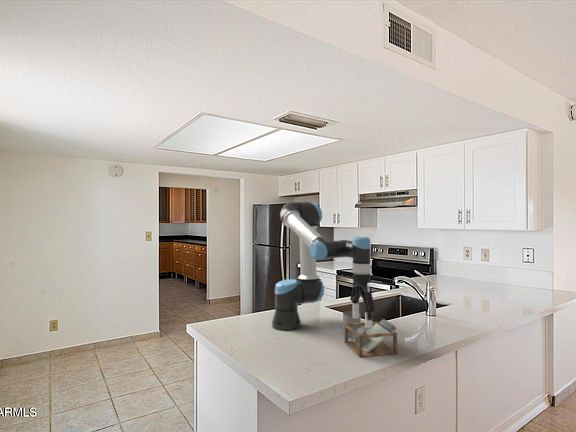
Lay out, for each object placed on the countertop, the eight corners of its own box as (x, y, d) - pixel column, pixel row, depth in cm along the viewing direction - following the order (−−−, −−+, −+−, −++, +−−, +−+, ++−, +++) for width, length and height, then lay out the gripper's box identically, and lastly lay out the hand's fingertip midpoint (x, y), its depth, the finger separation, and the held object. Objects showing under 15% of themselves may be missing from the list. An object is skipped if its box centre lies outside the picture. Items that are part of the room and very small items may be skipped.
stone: (361, 347, 149) (355, 337, 148) (357, 343, 153) (351, 334, 153) (371, 340, 149) (365, 330, 149) (366, 336, 154) (360, 327, 154)
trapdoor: (367, 353, 145) (365, 350, 145) (355, 342, 157) (353, 339, 157) (398, 329, 148) (396, 326, 147) (383, 320, 160) (382, 318, 160)
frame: (359, 357, 142) (359, 336, 142) (344, 342, 158) (344, 323, 158) (397, 353, 145) (397, 333, 145) (378, 340, 162) (378, 321, 162)
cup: (348, 330, 175) (348, 310, 175) (363, 334, 170) (363, 313, 170) (339, 335, 169) (339, 314, 169) (355, 338, 163) (355, 317, 163)
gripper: (383, 277, 140) (383, 331, 140) (358, 268, 164) (358, 314, 164) (365, 278, 138) (365, 332, 138) (343, 269, 163) (343, 315, 163)
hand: (362, 322), depth 151 cm, fingers open, 13 cm apart
